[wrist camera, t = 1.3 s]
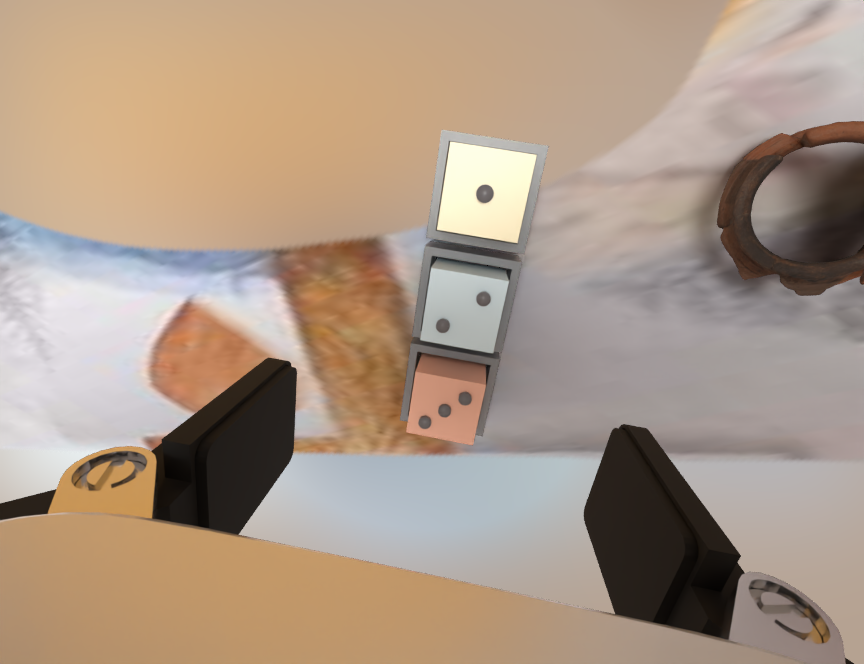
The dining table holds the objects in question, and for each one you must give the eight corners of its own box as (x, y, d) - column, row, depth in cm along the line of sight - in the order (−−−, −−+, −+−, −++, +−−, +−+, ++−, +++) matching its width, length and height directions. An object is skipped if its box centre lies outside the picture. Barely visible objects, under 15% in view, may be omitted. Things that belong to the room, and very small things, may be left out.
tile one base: (540, 151, 25) (548, 145, 22) (519, 248, 27) (524, 254, 24) (446, 137, 25) (441, 129, 22) (431, 233, 27) (426, 237, 24)
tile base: (498, 344, 29) (499, 359, 26) (482, 414, 31) (482, 436, 28) (417, 329, 29) (411, 343, 27) (407, 400, 31) (400, 420, 29)
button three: (485, 359, 28) (486, 387, 24) (473, 413, 30) (472, 448, 25) (423, 348, 28) (414, 373, 24) (415, 402, 30) (405, 434, 26)
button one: (527, 161, 24) (537, 154, 20) (511, 236, 25) (517, 243, 21) (454, 150, 24) (450, 140, 20) (443, 224, 25) (436, 230, 21)
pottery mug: (775, 319, 27) (793, 333, 20) (682, 214, 29) (672, 196, 23) (1032, 187, 21) (1182, 144, 14) (887, 66, 23) (956, -21, 16)
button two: (504, 268, 26) (509, 282, 22) (491, 332, 27) (493, 355, 23) (438, 257, 26) (430, 268, 22) (428, 320, 28) (419, 341, 24)
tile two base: (517, 255, 27) (522, 262, 24) (499, 337, 29) (501, 352, 26) (430, 240, 27) (425, 245, 24) (418, 322, 29) (412, 336, 26)
